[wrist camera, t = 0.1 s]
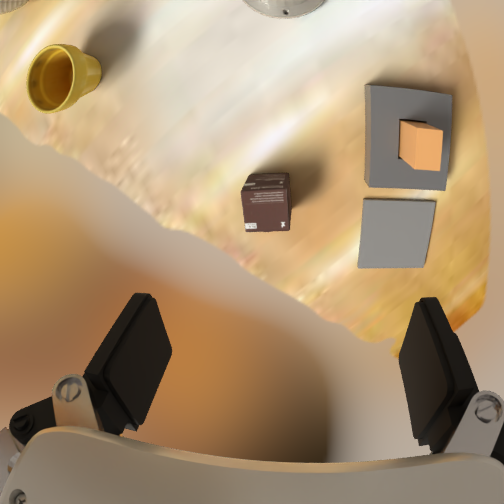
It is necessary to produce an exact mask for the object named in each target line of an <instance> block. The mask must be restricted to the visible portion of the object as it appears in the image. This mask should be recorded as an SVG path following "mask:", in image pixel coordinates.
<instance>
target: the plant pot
mask: <svg viewBox="0 0 504 504" xmlns="http://www.w3.org/2000/svg"><path fill="white" fill-rule="evenodd" d="M101 75H102V70H101V65H100V63H99V61H98V60H97V59H96V58H94V57H92V56H90V55H87V54H85V53H82V52H81V51H80V50H79V49H78V48H77V47H75V46H72V45H65V44H55V45H50V46H47V47H45V48H44V49H42V50H41V51H40V52H39V53H38V54H37V55H36V56H35V58H34V59H33V61H32V63H31V65H30V67H29V70H28V74H27V81H26V86H27V94H28V97H29V100H30V102H31V103H32V105H33V106H34V107H35V108H36V109H37V110H38V111H40V112H42V113H54V112H58V111H61V110H64V109H67V108H69V107H70V106H72V105H73V104H74V103H76V101H77V100H78V99H79V98H80V97H82V96H84V95H86V94H88V93H89V92H91V91H93V90H94V89H95V88H96V87H97V85H98V84H99V82H100V79H101Z"/></svg>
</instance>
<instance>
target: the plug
mask: <svg viewBox="0 0 504 504" xmlns="http://www.w3.org/2000/svg"><path fill="white" fill-rule="evenodd" d="M442 139H443V131H442V130H440V129H438V128H435V127H433V126H430V125H428V124H426V123H423V122H420V121H418V120H410V119H399V147H398V156H399V157H401V158H402V159H403V160H404V161H405V162H407V163H408V164H409V165H410V166H411V167H412V168H414V169H418V170H432V171H440V164H441V153H442Z"/></svg>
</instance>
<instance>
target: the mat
mask: <svg viewBox="0 0 504 504" xmlns="http://www.w3.org/2000/svg"><path fill="white" fill-rule="evenodd" d="M435 203H436V202H435V201H422V200H396V199H363V212H362V225H361V237H360V248H359V258H358V268H423V267H424V263H425V258H426V253H427V249H428V244H429V238H430V233H431V228H432V222H433V216H434V210H435Z"/></svg>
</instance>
